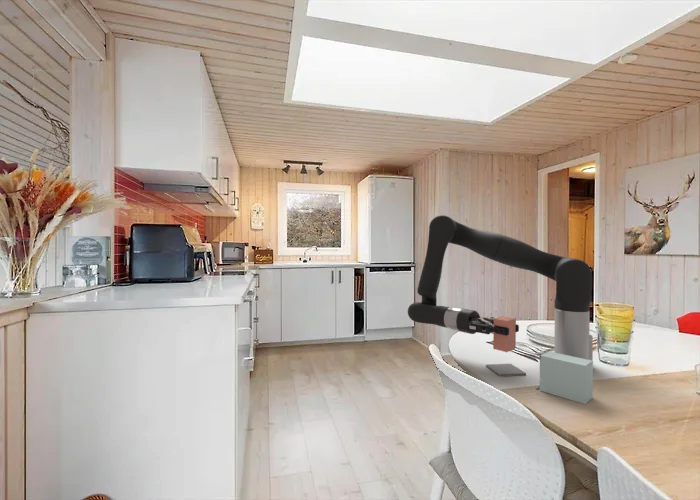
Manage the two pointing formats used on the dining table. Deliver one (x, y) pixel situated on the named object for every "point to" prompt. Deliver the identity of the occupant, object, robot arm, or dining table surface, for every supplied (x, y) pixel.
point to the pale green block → (566, 376)
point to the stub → (505, 341)
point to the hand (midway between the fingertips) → (513, 330)
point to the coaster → (505, 370)
